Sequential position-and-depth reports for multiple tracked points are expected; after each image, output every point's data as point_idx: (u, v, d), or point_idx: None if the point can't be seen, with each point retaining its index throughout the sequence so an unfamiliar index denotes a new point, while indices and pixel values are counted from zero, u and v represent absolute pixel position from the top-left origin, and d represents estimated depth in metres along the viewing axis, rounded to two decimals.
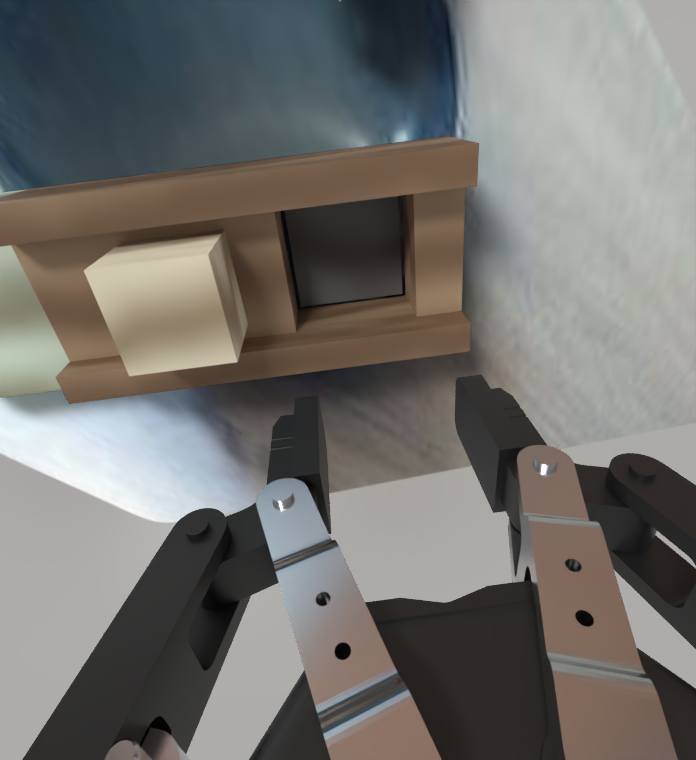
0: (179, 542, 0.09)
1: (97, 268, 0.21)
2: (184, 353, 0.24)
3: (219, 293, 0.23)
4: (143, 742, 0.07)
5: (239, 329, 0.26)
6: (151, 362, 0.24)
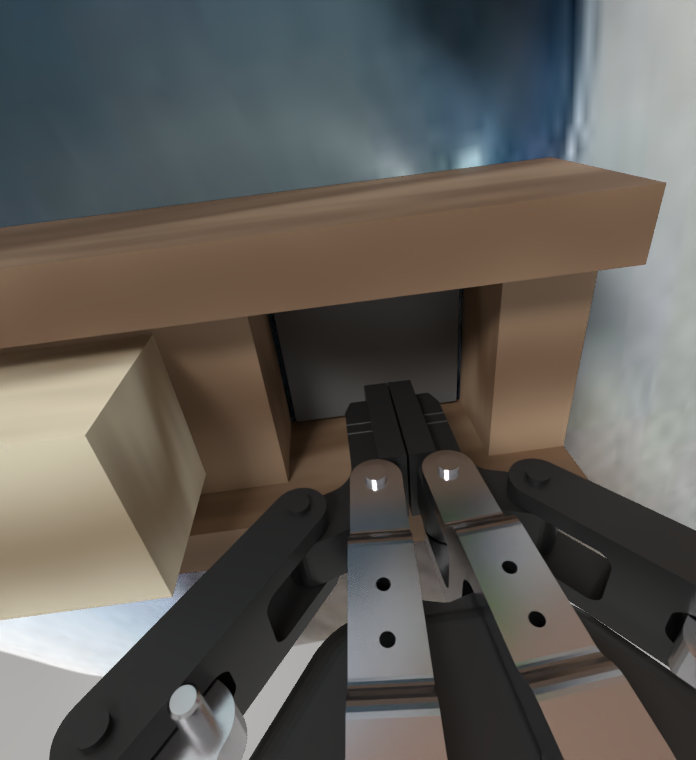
0: (280, 515, 0.10)
1: None
2: (66, 590, 0.12)
3: (124, 495, 0.11)
4: (209, 690, 0.08)
5: (183, 511, 0.14)
6: (2, 605, 0.12)
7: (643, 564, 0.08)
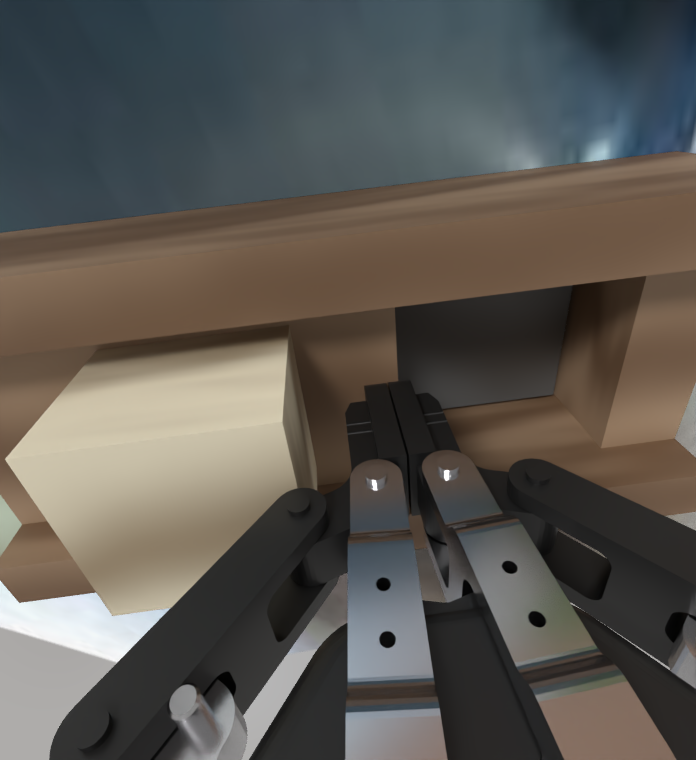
0: (280, 514, 0.10)
1: (36, 453, 0.10)
2: None
3: (298, 483, 0.11)
4: (209, 690, 0.08)
5: None
6: (155, 595, 0.12)
7: (643, 564, 0.08)
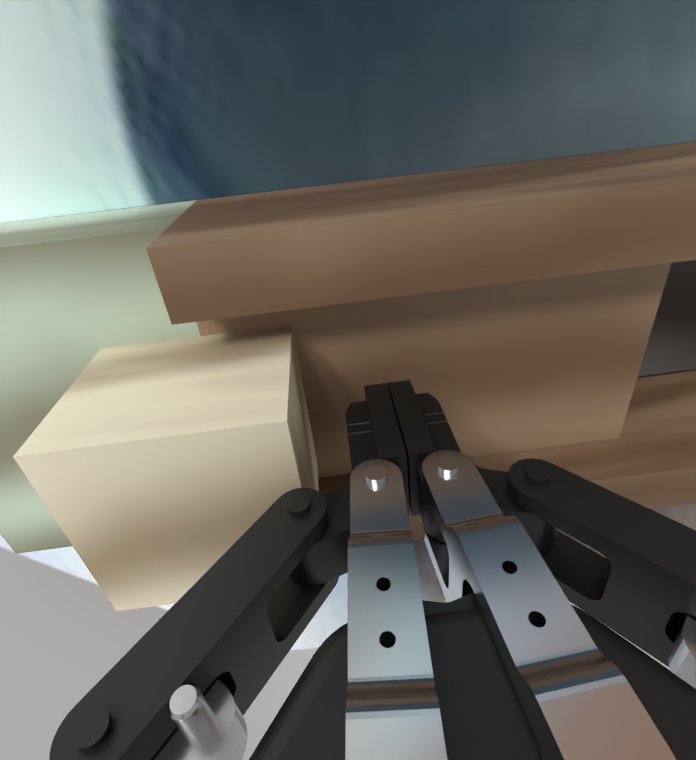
0: (280, 514, 0.10)
1: (44, 450, 0.10)
2: None
3: (301, 481, 0.11)
4: (209, 690, 0.08)
5: None
6: (159, 591, 0.13)
7: (643, 564, 0.08)
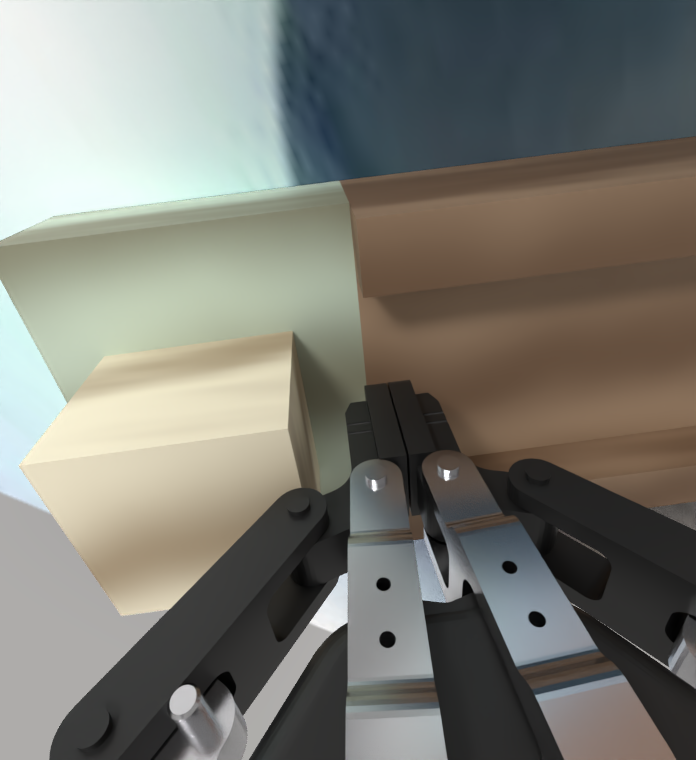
0: (280, 515, 0.10)
1: (49, 459, 0.10)
2: None
3: (302, 487, 0.11)
4: (209, 690, 0.08)
5: None
6: (163, 596, 0.13)
7: (643, 564, 0.08)
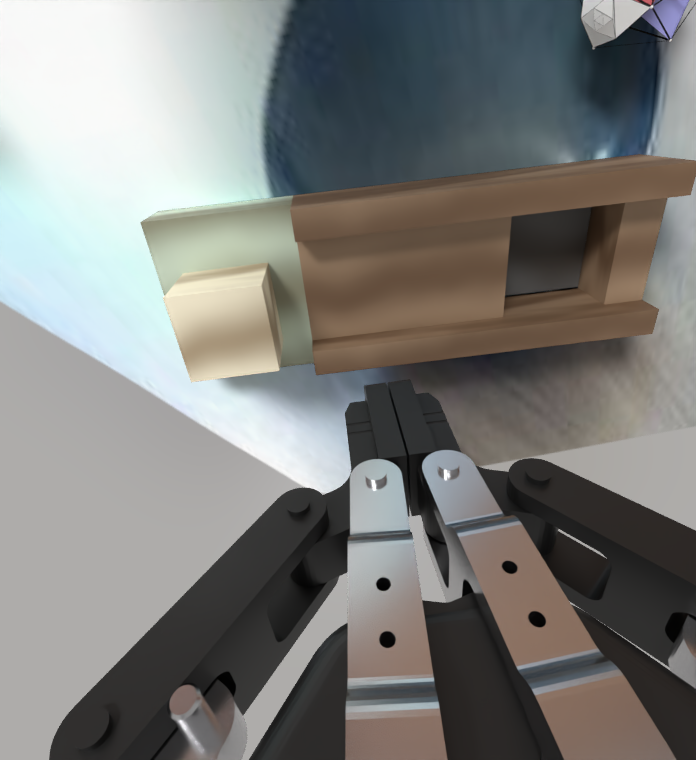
0: (279, 515, 0.10)
1: (173, 296, 0.27)
2: (237, 364, 0.30)
3: (268, 315, 0.28)
4: (209, 690, 0.08)
5: (279, 343, 0.32)
6: (210, 370, 0.30)
7: (643, 564, 0.08)
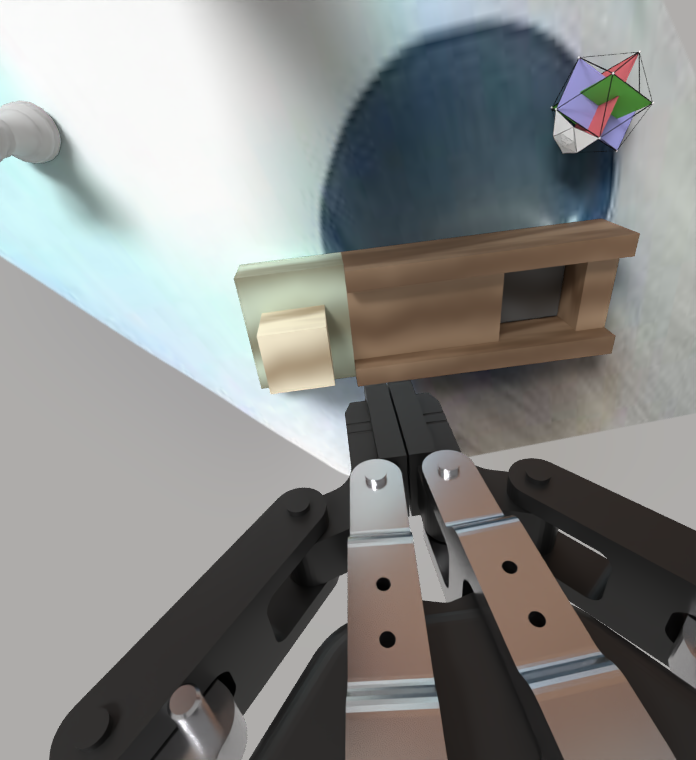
0: (280, 514, 0.10)
1: (263, 335, 0.38)
2: (305, 381, 0.41)
3: (329, 347, 0.39)
4: (209, 690, 0.08)
5: (332, 364, 0.43)
6: (285, 386, 0.41)
7: (643, 564, 0.08)
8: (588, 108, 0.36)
